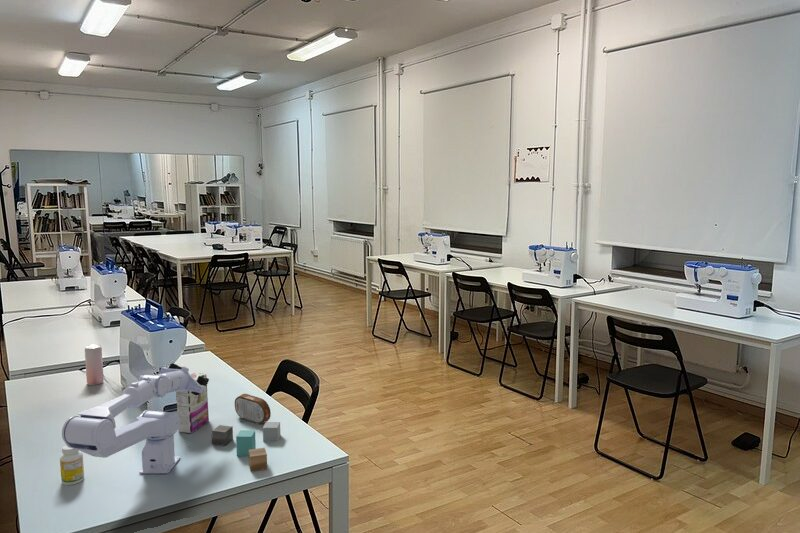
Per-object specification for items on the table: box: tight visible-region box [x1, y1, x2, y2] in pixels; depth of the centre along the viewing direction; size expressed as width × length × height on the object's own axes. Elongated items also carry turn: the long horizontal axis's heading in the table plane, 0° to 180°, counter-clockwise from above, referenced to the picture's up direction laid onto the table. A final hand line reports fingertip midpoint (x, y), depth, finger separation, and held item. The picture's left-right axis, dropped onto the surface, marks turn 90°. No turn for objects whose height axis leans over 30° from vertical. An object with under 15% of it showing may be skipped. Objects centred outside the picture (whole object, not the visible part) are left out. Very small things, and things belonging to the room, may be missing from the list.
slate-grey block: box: [262, 421, 281, 442], centre depth 185 cm, size 4×4×4 cm
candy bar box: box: [175, 372, 210, 434], centre depth 193 cm, size 11×5×16 cm, turn 168°
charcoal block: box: [211, 424, 234, 447], centre depth 182 cm, size 4×4×4 cm
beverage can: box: [84, 344, 105, 386], centre depth 234 cm, size 6×6×15 cm
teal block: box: [235, 429, 257, 457], centre depth 175 cm, size 4×4×6 cm
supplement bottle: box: [59, 444, 85, 486], centre depth 157 cm, size 5×5×10 cm
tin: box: [234, 393, 272, 425], centre depth 198 cm, size 15×3×8 cm, turn 57°
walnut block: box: [248, 447, 268, 473], centre depth 166 cm, size 4×4×4 cm
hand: (196, 376), depth 184 cm, fingers open, 7 cm apart
